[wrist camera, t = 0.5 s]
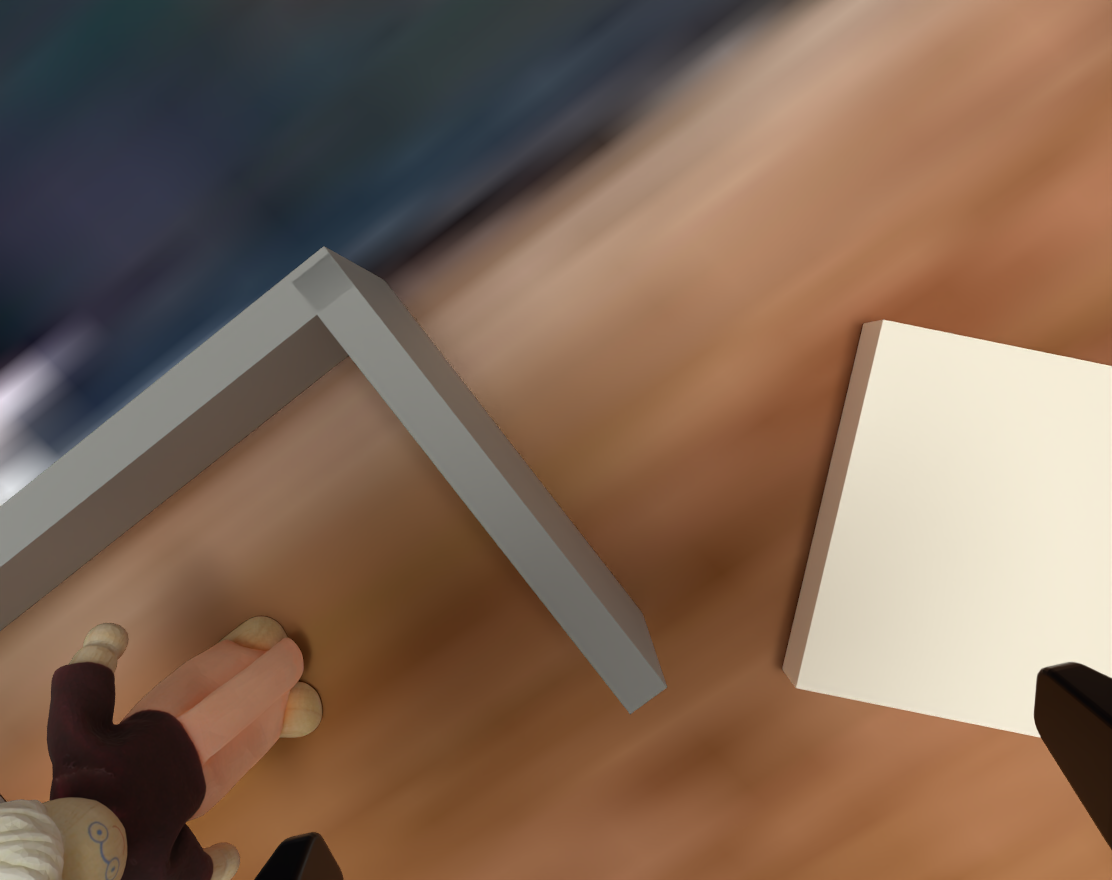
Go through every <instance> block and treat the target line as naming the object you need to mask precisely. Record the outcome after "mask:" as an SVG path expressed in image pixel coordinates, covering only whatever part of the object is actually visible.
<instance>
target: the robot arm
mask: <svg viewBox="0 0 1112 880" xmlns="http://www.w3.org/2000/svg"><path fill="white" fill-rule="evenodd" d="M1034 721H1035V725H1036V728H1037V731H1038V733H1039V735H1040V737H1041V738H1042V740H1043V742H1044V743H1045V745H1046V746H1047V748H1048V750H1049V751H1050V753H1051V754H1052V756H1053V758H1054V759H1055V761H1056V762H1057V764H1058V766H1059V767H1060V769H1061V770H1062V772H1063V774H1064V775H1065V777H1066V778H1067V780H1068V781H1069V783H1070V785H1071V786H1072V788H1073V789H1074V791H1075V793H1076V794H1077V796H1078V797H1079V799H1080V801H1081V802H1082V804H1083V805H1084V807H1085V809H1086V810H1087V812H1088V813H1089V815H1090V817H1091V818H1092V820H1093V821H1094V823H1095V824H1096V826H1097V828H1098V829H1099V831H1100V832H1101V834H1102V836H1103V837H1104V839H1105V840H1106V842H1107V843H1108V845H1109V846H1110V848H1111V850H1112V678H1111V677H1109V676H1107V675H1104V674H1102V673H1100V672H1098V671H1096V670H1094V669H1092V668H1090V667H1088V666H1086V665H1083V664H1080V663H1077V662H1065V663H1061V664H1057V665H1052V666H1048V667H1044V668H1042V669H1041V670H1040V671H1039V672H1038V674H1037V679H1036V691H1035V704H1034ZM254 880H343V875H342V872H341V870H340V868H339V866H338V864H337V862H336V861H335V859H334V857H333V855H332V853H331V852H330V850H329V848H328V846H327V845H326V843H325V841H324V839H323V838H322V836H321V835H320V834H318V833H316V832H310V833H306V834H302V835H297V836H293V837H289V838H287V839H285V840H284V841H283V842H282V843H281V844H280V845H279V846H278V847H277V849H276V850H275V852H274V853H273V854H272V856H271V857H270V859H269V860H268V861H267V863H266V864H265V866H264V867H263V868H262V870H261V871H260V872H259V874H258V875H257V877H256V878H255V879H254Z"/></svg>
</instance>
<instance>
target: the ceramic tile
mask: <svg viewBox="0 0 1112 880" xmlns="http://www.w3.org/2000/svg"><path fill="white" fill-rule="evenodd" d="M1065 662H1077V663H1080V664H1083V665H1086V666H1088V667H1090V668H1092V669H1094V670H1096V671H1098V672H1100V673H1102V674H1104V675H1107V676H1109V677H1111V678H1112V366H1108V365H1103V364H1098V363H1093V362H1089V361H1084V360H1079V359H1074V358H1069V357H1064V356H1059V355H1054V354H1049V353H1044V352H1039V351H1035V350H1030V349H1025V348H1020V347H1015V346H1010V345H1005V344H1000V343H995V342H990V341H985V340H980V339H976V338H971V337H966V336H961V335H956V334H951V333H946V332H941V331H936V330H931V329H926V328H922V327H917V326H912V325H907V324H902V323H897V322H892V321H887V320H879V321H874V322H869V323H864V324H863V327H862V331H861V336H860V340H859V344H858V348H857V353H856V357H855V361H854V365H853V370H852V374H851V378H850V382H849V387H848V391H847V395H846V400H845V404H844V408H843V412H842V417H841V421H840V425H839V429H838V434H837V438H836V442H835V446H834V451H833V455H832V459H831V463H830V468H829V472H828V476H827V480H826V485H825V489H824V493H823V497H822V502H821V506H820V510H819V515H818V519H817V523H816V527H815V532H814V536H813V540H812V544H811V549H810V553H809V557H808V561H807V566H806V570H805V574H804V578H803V583H802V587H801V591H800V595H799V600H798V604H797V608H796V612H795V617H794V621H793V625H792V630H791V634H790V638H789V642H788V647H787V651H786V655H785V659H784V664H783V668H782V670H783V672H784V673H785V674H786V676H787V677H788V678H789V679H790V681H791V682H792V683H793V685H794V686H795V687H796V688H798V689H803V690H808V691H813V692H818V693H823V694H828V695H833V696H838V697H843V698H848V699H853V700H858V701H863V702H868V703H872V704H877V705H882V706H887V707H892V708H897V709H902V710H907V711H912V712H917V713H922V714H927V715H932V716H937V717H942V718H947V719H952V720H957V721H961V722H966V723H971V724H976V725H981V726H986V727H991V728H996V729H1001V730H1006V731H1011V732H1016V733H1021V734H1026V735H1031V736H1036V737H1040V735H1039V733H1038V731H1037V728H1036V725H1035V721H1034V704H1035V691H1036V679H1037V674H1038V672H1039V671H1040V670H1041V669H1042V668H1044V667H1048V666H1052V665H1057V664H1061V663H1065Z"/></svg>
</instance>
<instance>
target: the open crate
mask: <svg viewBox="0 0 1112 880" xmlns="http://www.w3.org/2000/svg"><path fill="white" fill-rule="evenodd" d="M348 355H349V356H350V357H351V359H352V360H353V361H354V363H355V364H356V365H357V366H358V368H359V369H360V370H361V371H362V373H363V374H364V375H365V377H366V378H367V379H368V380H369V382H370V383H371V384H372V385H373V387H374V388H375V389H376V391H377V392H378V393H379V394H380V396H381V397H382V398H383V400H384V401H385V402H386V403H387V405H388V406H389V407H390V408H391V410H392V411H393V412H394V414H395V415H396V416H397V417H398V419H399V420H400V421H401V422H402V424H403V425H404V426H405V428H406V429H407V430H408V431H409V433H410V434H411V435H412V437H413V438H414V439H415V440H416V442H417V443H418V444H419V445H420V447H421V448H422V449H423V451H424V452H425V453H426V454H427V456H428V457H429V458H430V459H431V461H432V462H433V463H434V465H435V466H436V467H437V468H438V470H439V471H440V472H441V474H442V475H443V476H444V477H445V479H446V480H447V481H448V482H449V484H450V485H451V486H452V488H453V489H454V490H455V491H456V493H457V494H458V495H459V496H460V498H461V499H462V500H463V502H464V503H465V504H466V505H467V507H468V508H469V509H470V511H471V512H472V513H473V514H474V516H475V517H476V518H477V519H478V521H479V522H480V523H481V525H482V526H483V527H484V528H485V530H486V531H487V532H488V533H489V535H490V536H491V537H492V539H493V540H494V541H495V542H496V544H497V545H498V546H499V547H500V549H501V550H502V551H503V553H504V554H505V555H506V556H507V558H508V559H509V560H510V562H511V563H512V564H513V565H514V567H515V568H516V569H517V570H518V572H519V573H520V574H521V576H522V577H523V578H524V579H525V581H526V582H527V583H528V584H529V586H530V587H531V588H532V590H533V591H534V592H535V593H536V595H537V596H538V597H539V599H540V600H541V601H542V602H543V604H544V605H545V606H546V607H547V609H548V610H549V611H550V613H551V614H552V615H553V616H554V618H555V619H556V620H557V621H558V623H559V624H560V625H561V627H562V628H563V629H564V630H565V632H566V633H567V634H568V636H569V637H570V638H571V639H572V641H573V642H574V643H575V644H576V646H577V647H578V648H579V650H580V651H581V652H582V653H583V655H584V656H585V657H586V658H587V660H588V661H589V662H590V664H591V665H592V666H593V667H594V669H595V670H596V671H597V673H598V674H599V675H600V676H601V678H602V679H603V680H604V681H605V683H606V684H607V685H608V687H609V688H610V689H611V690H612V692H613V693H614V694H615V695H616V697H617V698H618V699H619V701H620V702H621V703H622V704H623V706H624V707H625V708H626V710H627V711H628V712H629V713H630V714H631V713H633V712H634V711H635V710H637V709H638V708H640V707H641V706H642V705H644V704H645V703H646V702H648V701H649V700H650V699H652V698H653V697H655V696H656V695H657V694H659V693H660V692H661V691H663V690H664V689H666V688H667V685H666V682H665V679H664V676H663V673H662V670H661V667H660V664H659V661H658V658H657V655H656V652H655V649H654V646H653V643H652V640H651V637H650V634H649V631H648V628H647V625H646V622H645V619H644V616H643V613H642V612H641V611H640V610H639V608H638V607H637V606H636V604H635V603H634V602H633V600H632V599H631V598H630V597H629V595H628V594H627V593H626V591H625V590H624V589H623V588H622V586H621V585H620V584H619V582H618V581H617V580H616V579H615V577H614V576H613V575H612V573H611V572H610V571H609V570H608V568H607V567H606V566H605V564H604V563H603V562H602V561H601V559H600V558H599V557H598V555H597V554H596V553H595V551H594V550H593V549H592V548H591V546H590V545H589V544H588V542H587V541H586V540H585V539H584V537H583V536H582V535H581V533H580V532H579V531H578V530H577V528H576V527H575V526H574V524H573V523H572V522H571V521H570V519H569V518H568V517H567V515H566V514H565V513H564V511H563V510H562V509H561V508H560V506H559V505H558V504H557V502H556V501H555V500H554V499H553V497H552V496H551V495H550V493H549V492H548V491H547V490H546V488H545V487H544V486H543V484H542V483H541V482H540V481H539V479H538V478H537V477H536V475H535V474H534V473H533V471H532V470H531V469H530V468H529V466H528V465H527V464H526V462H525V461H524V460H523V459H522V457H521V456H520V455H519V453H518V452H517V451H516V450H515V448H514V447H513V446H512V444H511V443H510V442H509V441H508V439H507V438H506V437H505V435H504V434H503V433H502V431H501V430H500V429H499V428H498V426H497V425H496V424H495V422H494V421H493V420H492V419H491V417H490V416H489V415H488V413H487V412H486V411H485V410H484V408H483V407H482V406H481V404H480V403H479V402H478V401H477V399H476V398H475V397H474V395H473V394H472V393H471V391H470V390H469V389H468V388H467V386H466V385H465V384H464V382H463V381H462V380H461V379H460V377H459V376H458V375H457V373H456V372H455V371H454V370H453V368H452V367H451V366H450V364H449V363H448V362H447V361H446V359H445V358H444V357H443V355H442V354H441V353H440V352H439V350H438V349H437V348H436V346H435V345H434V344H433V342H432V341H431V340H430V339H429V337H428V336H427V335H426V333H425V332H424V331H423V330H422V328H421V327H420V326H419V324H418V323H417V322H416V321H415V319H414V318H413V317H412V315H411V314H410V313H409V312H408V310H407V309H406V308H405V306H404V305H403V304H402V302H401V301H400V300H399V299H398V297H397V296H396V295H395V293H394V292H393V291H392V290H391V288H390V287H389V286H388V284H387V283H386V282H385V281H384V280H383V279H381V278H379V277H378V276H376V275H374V274H372V273H371V272H369V271H367V270H365V269H363V268H362V267H360V266H358V265H356V264H355V263H353V262H351V261H349V260H347V259H346V258H344V257H342V256H340V255H339V254H337V253H335V252H333V251H332V250H330V249H328V248H326V247H322V248H321V249H320V250H319V251H317V252H316V253H315V254H314V255H312V256H311V257H310V258H309V259H307V260H306V261H305V262H304V263H302V264H301V265H300V266H299V267H297V268H296V269H295V270H294V271H293V272H291V273H290V274H289V275H288V276H286V277H285V278H284V279H283V280H281V281H280V282H279V283H278V284H276V285H275V286H274V287H273V288H271V289H270V290H269V291H268V292H266V293H265V294H264V295H263V296H261V297H260V298H259V299H258V300H256V301H255V302H254V303H253V304H251V305H250V306H249V307H248V308H247V309H245V310H244V311H243V312H242V313H240V314H239V315H238V316H237V317H235V318H234V319H233V320H232V321H230V322H229V323H228V324H227V325H225V326H224V327H223V328H222V329H220V330H219V331H218V332H217V333H215V334H214V335H213V336H212V337H210V338H209V339H208V340H207V341H205V342H204V343H203V344H202V345H201V346H199V347H198V348H197V349H196V350H194V351H193V352H192V353H191V354H189V355H188V356H187V357H186V358H184V359H183V360H182V361H181V362H179V363H178V364H177V365H176V366H174V367H173V368H172V369H171V370H169V371H168V372H167V373H166V374H164V375H163V376H162V377H161V378H159V379H158V380H157V381H156V382H155V383H153V384H152V385H151V386H150V387H148V388H147V389H146V390H145V391H143V392H142V393H141V394H140V395H138V396H137V397H136V398H135V399H133V400H132V401H131V402H130V403H128V404H127V405H126V406H125V407H123V408H122V409H121V410H120V411H118V412H117V413H116V414H115V415H113V416H112V417H111V418H110V419H109V420H107V421H106V422H105V423H104V424H102V425H101V426H100V427H99V428H97V429H96V430H95V431H94V432H92V433H91V434H90V435H89V436H87V437H86V438H85V439H84V440H82V441H81V442H80V443H79V444H77V445H76V446H75V447H74V448H72V449H71V450H70V451H69V452H68V453H66V454H65V455H64V456H63V457H61V458H60V459H59V460H58V461H56V462H55V463H54V464H53V465H51V466H50V467H49V468H48V469H46V470H45V471H44V472H43V473H41V474H40V475H39V476H38V477H36V478H35V479H34V480H33V481H31V482H30V483H29V484H28V485H26V486H25V487H24V488H23V489H22V490H20V491H19V492H18V493H17V494H15V495H14V496H13V497H12V498H10V499H9V500H8V501H7V502H5V503H4V504H3V505H2V506H0V631H1V630H2V629H3V628H4V627H6V626H7V625H8V624H10V623H11V622H12V621H13V620H15V619H16V618H17V617H18V616H20V615H21V614H22V613H23V612H25V611H26V610H27V609H29V608H30V607H31V606H32V605H34V604H35V603H36V602H37V601H39V600H40V599H41V598H42V597H44V596H45V595H46V594H47V593H49V592H50V591H51V590H53V589H54V588H55V587H56V586H58V585H59V584H60V583H61V582H63V581H64V580H65V579H66V578H68V577H69V576H70V575H71V574H73V573H74V572H75V571H77V570H78V569H79V568H80V567H82V566H83V565H84V564H85V563H87V562H88V561H89V560H90V559H92V558H93V557H94V556H96V555H97V554H98V553H99V552H101V551H102V550H103V549H104V548H106V547H107V546H108V545H109V544H111V543H112V542H113V541H114V540H116V539H117V538H118V537H120V536H121V535H122V534H123V533H125V532H126V531H127V530H128V529H130V528H131V527H132V526H133V525H135V524H136V523H137V522H139V521H140V520H141V519H142V518H144V517H145V516H146V515H147V514H149V513H150V512H151V511H152V510H154V509H155V508H156V507H157V506H159V505H160V504H161V503H163V502H164V501H165V500H166V499H168V498H169V497H170V496H171V495H173V494H174V493H175V492H176V491H178V490H179V489H180V488H181V487H183V486H184V485H185V484H187V483H188V482H189V481H190V480H192V479H193V478H194V477H195V476H197V475H198V474H199V473H200V472H202V471H203V470H204V469H206V468H207V467H208V466H209V465H211V464H212V463H213V462H214V461H216V460H217V459H218V458H219V457H221V456H222V455H223V454H224V453H226V452H227V451H228V450H230V449H231V448H232V447H233V446H235V445H236V444H237V443H238V442H240V441H241V440H242V439H243V438H245V437H246V436H247V435H248V434H250V433H251V432H252V431H254V430H255V429H256V428H257V427H259V426H260V425H261V424H262V423H264V422H265V421H266V420H267V419H269V418H270V417H271V416H273V415H274V414H275V413H276V412H278V411H279V410H280V409H281V408H283V407H284V406H285V405H286V404H288V403H289V402H290V401H291V400H293V399H294V398H295V397H297V396H298V395H299V394H300V393H302V392H303V391H304V390H305V389H307V388H308V387H309V386H310V385H312V384H313V383H314V382H316V381H317V380H318V379H319V378H321V377H322V376H323V375H324V374H326V373H327V372H328V371H329V370H331V369H332V368H333V367H334V366H336V365H337V364H338V363H340V362H341V361H342V360H343V359H345V358H346V357H347V356H348ZM4 802H5V801H4V800H3V798H2V797H1V796H0V804H1V803H4Z"/></svg>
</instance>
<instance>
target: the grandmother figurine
mask: <svg viewBox="0 0 1112 880" xmlns="http://www.w3.org/2000/svg"><path fill="white" fill-rule="evenodd" d="M127 645H128V634H127V632H126V630H125V629H124V628H123V627H121V626H120V625H117V624H114V623H104V624H100V625H97V626H96V627H94V628H93V629H91V630H90V631H89V633H88V634H87V636H86V638H85V640H84V644H83V648H81V649H80V650H79V651H78V652H77V653H76V654H75V655H74V657H73V658H72V660H71V662H70V663H69V665H65V666H62V667H60V668H59V669H57V670H56V671H55V673H54V675H53V678H52V684H51V703H50V710H49V718H48V725H47V744H48V751H49V756H50V759H51V762H52V765H53V780H52V786H51V791H50V801H47V802H44V803H41V802H39V801H38V800H14V801H10V802H4V803H1V804H0V880H230V879H231V878H232V877H233V876H234V875H235V873H236V872H237V870H238V868H239V864H240V855H239V852H238V850H237V849H236V847H235V846H233V845H232V844H229V843H218V844H215V845H212V846H211V847H209V848H202V847H201V845H200V844H199V842H198V841H197V839H196V837H195V836H194V834H193V833H192V831H191V830H190V828H189V827H188V826H187V825H186V824H185V823H186V822H187V821H189V820H192V819H195V818H198V817H200V816H202V815H204V814H205V813H206V812H208V811H209V810H210V809H211V808H212V807H213V806H214V805H215V804H216V803H218V802H219V801H220V800H221V799H222V798H223V797H224V796H225V795H226V794H227V793H228V791H229V790H230V789H231V788H232V787H233V786H234V785H235V784H236V783H237V782H238V781H239V780H240V779H241V778H242V777H243V776H244V775H245V774H246V773H247V771H248V770H249V769H251V768H252V767H253V766H254V765H255V764H256V763H257V762H258V761H259V760H260V759H261V758H262V757H263V756H264V755H265V754H266V753H267V752H268V750H269V749H270V748H271V747H272V746H273V745H274V744H275V743H276V741H277V740H278V739H279V737H302V736H305V735H307V734H309V733H311V732H312V731H314V730H315V729H316V728H317V726H318V725H319V723H320V721H321V718H322V705H321V701H320V698H319V695H318V694H317V692H316V691H315V690H314V689H313V688H312V687H311V686H309V685H308V684H306V683H304V682H298V680H299V679H300V677H301V676H302V673H303V670H304V666H303V656H302V653H301V651H300V649H299V647H298V646H297V645H296V644H295V643H294V641H293V640H291V639H289V638H288V637H287V635H286V633H285V631H284V630H283V628H282V627H281V625H280V624H279V623H278V622H277V621H275V620H273V619H271V618H269V617H265V616H258V617H253V618H251V619H249V620H247V621H245V622H244V623H242V624H241V625H240V626H238V627H237V628H236V629H234V630H233V631H232V632H231V633H229V634H228V635H227V636H226V637H224V638H223V639H222V640H220V641H219V642H218V643H217V644H216V645H214V646H213V647H211V648H209V649H208V650H206V651H204V652H202V653H201V654H199V655H197V656H195V657H193V658H192V659H190V660H188V661H187V662H185V663H184V664H182V665H181V666H180V667H179V668H177V669H176V670H175V671H174V672H173V673H172V674H170V675H169V676H168V677H166V678H165V679H164V680H163V681H161V682H160V683H159V684H158V685H156V686H155V687H154V688H153V689H152V690H151V691H150V692H149V693H148V694H147V695H146V696H145V697H143V698H142V699H141V700H140V701H139V702H138V703H137V704H136V705H135V706H134V707H133V709H132V710H131V711H130V712H129V713H128V714H127V715H126V716H125V718H124V719H123V720H122V721H121V722H120V724H118V725H114V724H113V722H112V720H113V713H114V705H115V684H114V681H115V678H114V672H115V670H116V667H117V660H118V659H119V658H120V657H121V656H122V654H123V653H124V651H125V650H126V647H127Z"/></svg>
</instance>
